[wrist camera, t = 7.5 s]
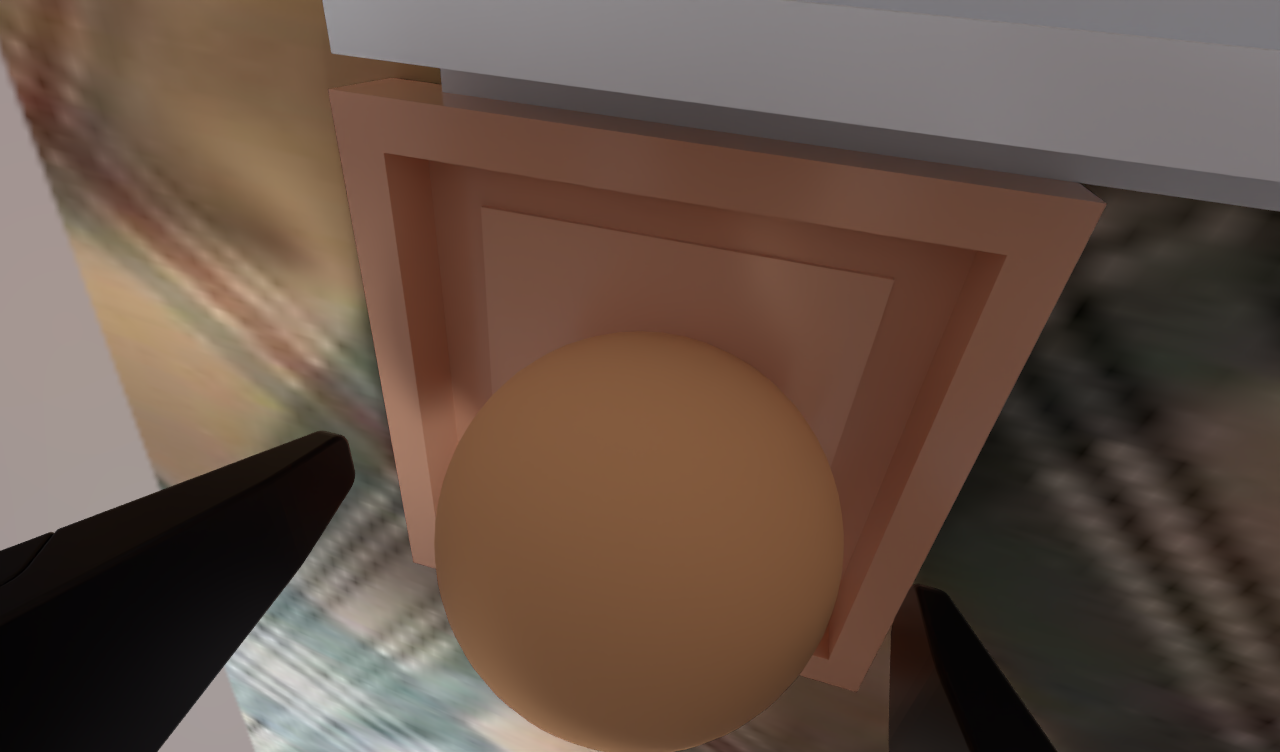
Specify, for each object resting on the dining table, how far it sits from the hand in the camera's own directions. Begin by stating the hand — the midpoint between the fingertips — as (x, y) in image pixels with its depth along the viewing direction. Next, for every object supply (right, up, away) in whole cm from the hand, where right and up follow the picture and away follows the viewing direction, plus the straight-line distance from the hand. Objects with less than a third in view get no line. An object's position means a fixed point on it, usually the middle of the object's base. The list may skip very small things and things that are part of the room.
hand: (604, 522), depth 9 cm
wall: (+4, +7, -1) cm, 8 cm away
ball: (0, 0, 0) cm, 1 cm away
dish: (+1, +2, +3) cm, 4 cm away
